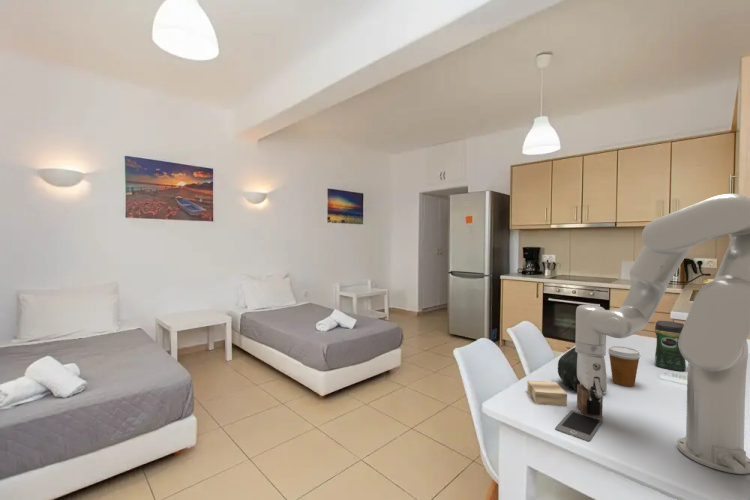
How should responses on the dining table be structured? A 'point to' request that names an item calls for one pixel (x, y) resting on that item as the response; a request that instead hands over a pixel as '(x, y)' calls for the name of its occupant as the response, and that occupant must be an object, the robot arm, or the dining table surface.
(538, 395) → the oak base block
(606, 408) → the dining table surface
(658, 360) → the coffee jar
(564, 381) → the squash
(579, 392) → the walnut block
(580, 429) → the smartphone
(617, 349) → the disposable coffee cup
